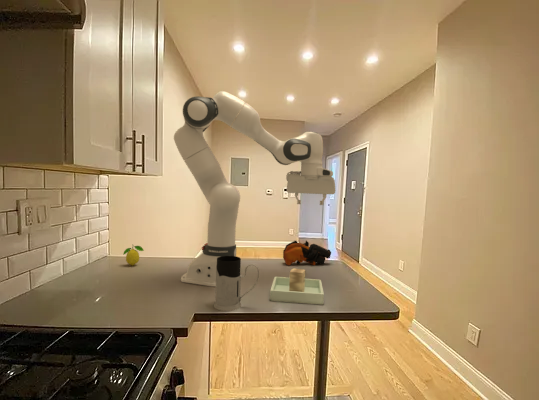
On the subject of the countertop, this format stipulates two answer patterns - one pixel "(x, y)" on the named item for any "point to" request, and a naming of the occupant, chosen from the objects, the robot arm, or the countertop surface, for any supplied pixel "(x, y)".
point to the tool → (305, 253)
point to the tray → (309, 296)
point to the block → (297, 280)
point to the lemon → (132, 255)
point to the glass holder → (229, 283)
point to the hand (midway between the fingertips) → (310, 204)
